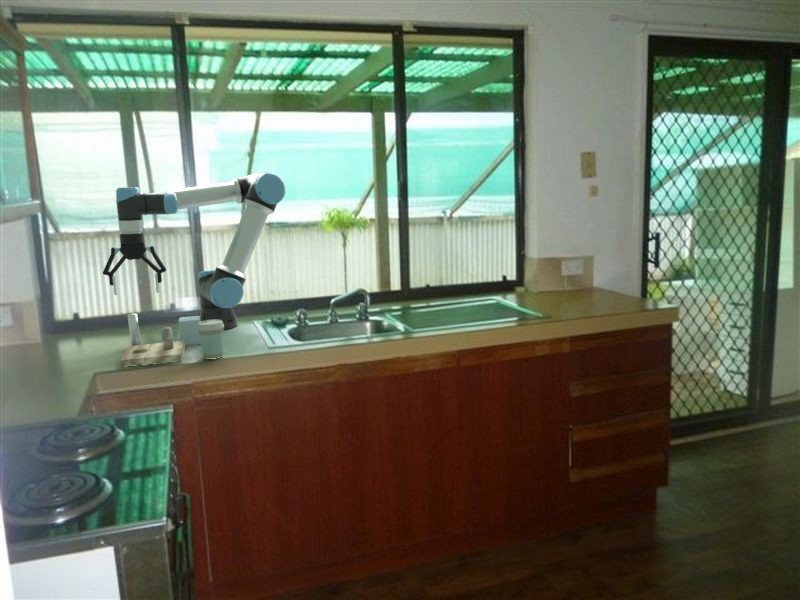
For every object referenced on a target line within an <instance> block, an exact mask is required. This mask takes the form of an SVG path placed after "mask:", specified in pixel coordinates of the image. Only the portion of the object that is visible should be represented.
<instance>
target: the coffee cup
mask: <svg viewBox="0 0 800 600" xmlns="http://www.w3.org/2000/svg"><path fill="white" fill-rule="evenodd" d="M197 330H198V331H199V335H200V340H201V344H200V345H201V348H202V351H203V352H202V353H203V356H204V359H205V358H218V357H221V356H224V324H223V322H222V320H216V319H214V320H205V321H201V322H199V323H198V327H197Z"/></svg>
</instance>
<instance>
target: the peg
mask: <svg viewBox="0 0 800 600" xmlns="http://www.w3.org/2000/svg"><path fill="white" fill-rule="evenodd" d="M126 316H127V322H128V323H127V324H128V329H129V338H130V346H134V345H142V342H141V333H140V327H139V326H140V323H139V317H138V313H137V312H135V313H134V312H131V313H127V315H126Z"/></svg>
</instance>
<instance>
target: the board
mask: <svg viewBox="0 0 800 600" xmlns="http://www.w3.org/2000/svg"><path fill="white" fill-rule="evenodd" d="M160 330H161V331H160V332H161V339H162V342H155V343H154V342H153V343H147V344H141V345H134V346H131V345H129V346H128V347H127V348H126V350H125V352H124V353H123V356H122V357H121V359H120V365H121V368H122V367H125V366H133V365H142V364H153V363H163V364H168V363H167V362H172V363H178V362H177V361H181V362H182V361H183V359H184V358H183V357H184V353H185V350H186V349H185V348H186V346H185V342H184V341H181V340H178V341H176V340H175V341H174V340H173V330H172V327H171V326H166V327H161V329H160ZM153 365H154V364H153ZM125 368H126V367H125Z"/></svg>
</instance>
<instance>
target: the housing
mask: <svg viewBox="0 0 800 600" xmlns="http://www.w3.org/2000/svg"><path fill="white" fill-rule="evenodd" d="M199 322H201V320H200V315H192V316H181V317H179V318H178V327H179V337H180V340H179V341H184V342H185V347H186V346H195V345H202V344H201V340H200V335H199V331H198V330H197V327H198V323H199Z"/></svg>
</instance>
